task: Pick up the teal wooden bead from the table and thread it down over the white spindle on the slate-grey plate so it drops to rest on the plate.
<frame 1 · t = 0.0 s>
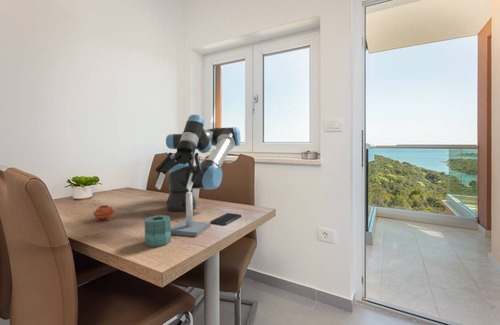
hand: (172, 188, 97), 15 cm above the table, tool tilted 35°, fingers open, 13 cm apart
spindle plate: (189, 229, 95), on the table
pot: (104, 220, 108), on the table
phone: (226, 220, 108), on the table
bead: (158, 242, 82), on the table
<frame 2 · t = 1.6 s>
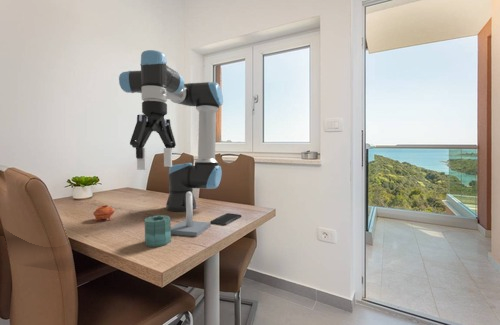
hand: (156, 168, 81), 25 cm above the table, tool pointing down, fingers open, 13 cm apart
nothing on the table moved.
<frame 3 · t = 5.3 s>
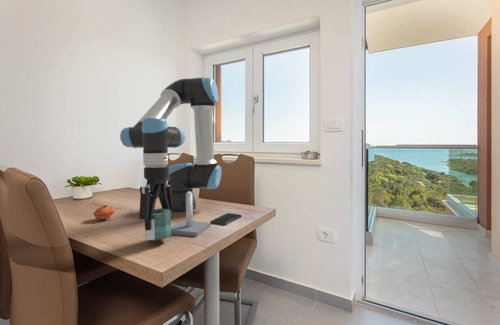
hand: (158, 234, 82), 2 cm above the table, tool pointing down, fingers closed on bead, 8 cm apart
bead: (158, 235, 82), point 2 cm above the table, touching gripper
everything else where it was.
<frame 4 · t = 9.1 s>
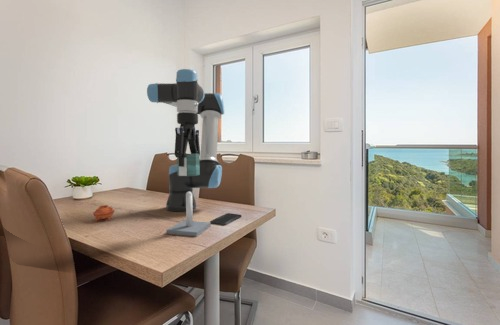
hand: (188, 174, 93), 21 cm above the table, tool pointing down, fingers closed on bead, 8 cm apart
bead: (188, 175, 93), point 21 cm above the table, touching gripper
everything else where it was.
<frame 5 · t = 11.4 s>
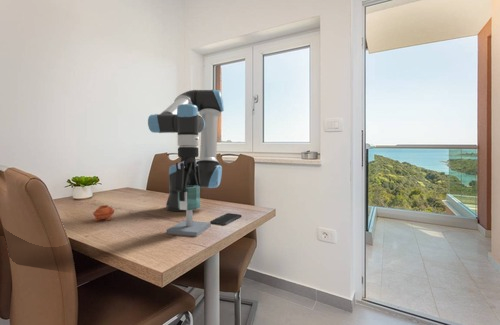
hand: (189, 206, 94), 9 cm above the table, tool pointing down, fingers closed on bead, 8 cm apart
bead: (189, 207, 94), point 9 cm above the table, touching gripper
everything else where it was.
when the fingers open (5 cm above the table, at t = 13.1 s): bead drops 3 cm, resting on spindle plate.
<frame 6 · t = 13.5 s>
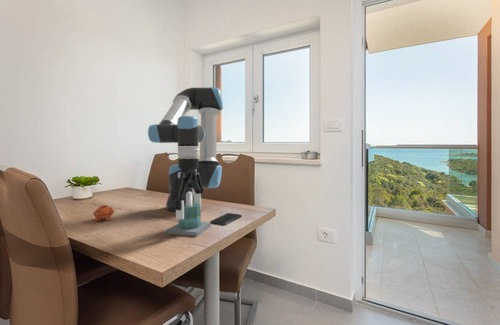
hand: (189, 213, 94), 6 cm above the table, tool pointing down, fingers open, 13 cm apart
bead: (189, 225, 95), point 1 cm above the table, touching spindle plate
everything else where it was.
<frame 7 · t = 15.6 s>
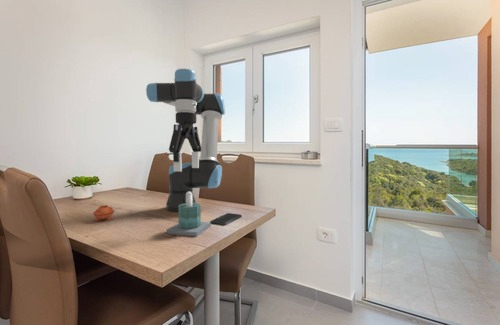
hand: (187, 169, 94), 23 cm above the table, tool pointing down, fingers open, 13 cm apart
nothing on the table moved.
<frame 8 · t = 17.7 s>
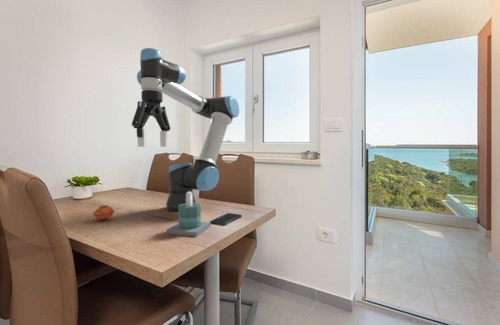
hand: (153, 146, 96), 32 cm above the table, tool pointing down, fingers open, 13 cm apart
nothing on the table moved.
at the end: bead 0.2 cm off-centre on the spindle plate, point 1.5 cm above the spindle plate's base; the gripper is holding nothing; bead tilted 0° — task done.
